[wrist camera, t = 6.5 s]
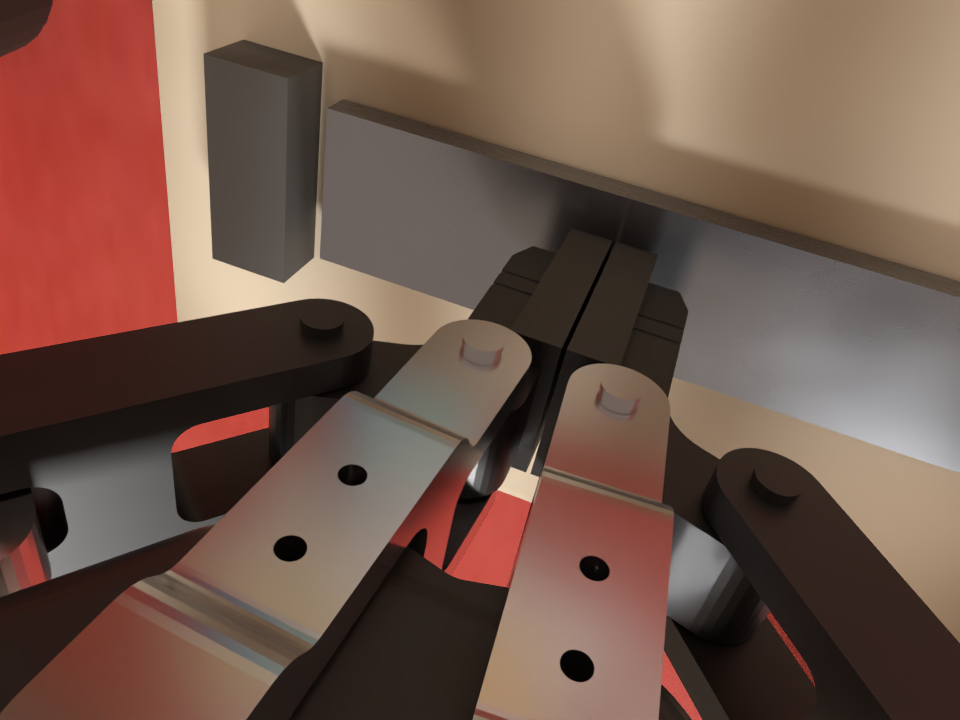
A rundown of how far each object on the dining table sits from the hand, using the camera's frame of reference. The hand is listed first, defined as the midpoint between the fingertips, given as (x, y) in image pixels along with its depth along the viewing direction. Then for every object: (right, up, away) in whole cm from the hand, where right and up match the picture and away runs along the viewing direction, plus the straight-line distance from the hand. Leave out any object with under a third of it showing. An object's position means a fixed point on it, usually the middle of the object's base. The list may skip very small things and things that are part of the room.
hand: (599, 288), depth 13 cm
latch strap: (+3, 0, 0) cm, 3 cm away
